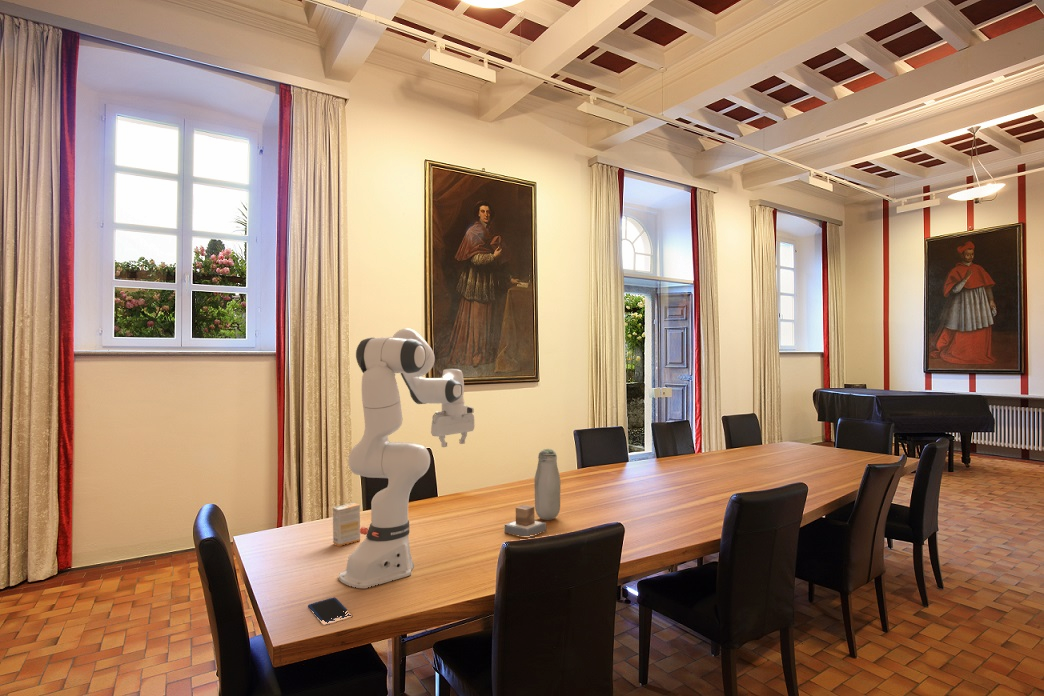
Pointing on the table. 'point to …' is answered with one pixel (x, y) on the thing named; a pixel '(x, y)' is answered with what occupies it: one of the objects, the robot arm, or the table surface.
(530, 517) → the walnut block
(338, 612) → the cell phone
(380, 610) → the table surface
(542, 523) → the base block
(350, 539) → the supplement box
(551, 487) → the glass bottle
